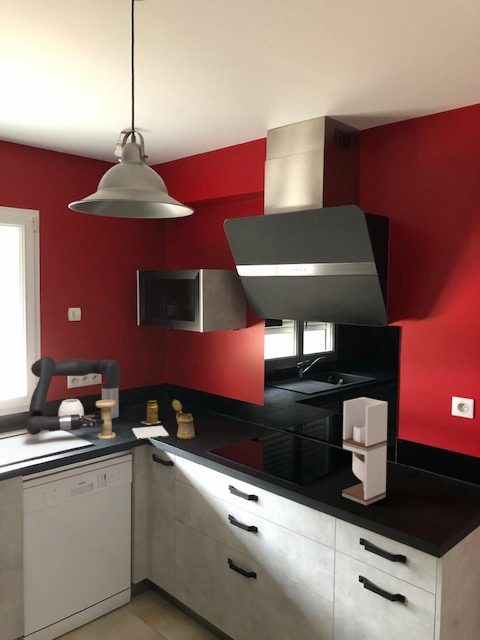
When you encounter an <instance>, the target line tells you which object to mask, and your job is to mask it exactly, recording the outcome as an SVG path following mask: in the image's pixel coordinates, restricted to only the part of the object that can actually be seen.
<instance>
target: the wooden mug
mask: <svg viewBox="0 0 480 640" xmlns="http://www.w3.org/2000/svg"><path fill="white" fill-rule="evenodd" d="M171 406H172V408H173V410H174V411H176V415H175V417H176V421H177V424H178V427H177V428H178V429H177V433H176V434H177V435H176V437H177V438H178V439H183V440H188V439H194V438H195V437H196V433H195V428H194V422H193V421H194V417H193V415H192V414H191V413H183V411H182V410H183V405H182V403H181V402H180V401H179V400H178V399H176V398H174V399H173V400H172V402H171Z"/></svg>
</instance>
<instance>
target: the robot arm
mask: <svg viewBox="0 0 480 640" xmlns="http://www.w3.org/2000/svg"><path fill="white" fill-rule="evenodd" d="M30 369H31V370H30V372H31V373H32V374H33V376H35V377H37V378H38V382H37V384H36V386H35V389H34V390H33V394H32V395H31V397H30V404H29V410H28V412H29V413H28V414H29V416H28V419H27V420H26V422H25V427H26V431H27V433H28V434H30V435H32V436H35V435H38V434H39V433H40V432H41V431H42V430H43V431H45V430H47V431H48V432H60V431H64V432H65V431H75V430H76V431H77V430H80V429H81V426H82V428H90V427H91V428H92V427H94V428H95V427H96V426H98V425H101V424H104V419H102V420H101V414H100V415H94V414H86V415H85V414H84V416H81V418H80V415H79V414H73V415H63V416H59V415H57V416H44V413H45V409H46V404H47V398H48V397H47V396H48V393H49V389H50V386H51V383H52V379H53V377H56V376H58V377H59V376H60V377H84V376H88V375H91V374H94V375H101V376H102V375H103V376H106V377H105V381H103V382H102V383H101V400H108V399H109V400H116V406H114V407H111V419H116V418H119V412H120V411H119V408H120V407H119V383H120V375H121V374H120V373H121V368H120V364H119V362H118V361H117V360H112V359H100V360H89V359H80V358H79V359H78V358H76V359H75V358H73V359H65V360H61V361H55V360H54V358H52V357H51V356H43V357H41V358H39V359H37V360H36V361H35V362H34V363H32V365H31V367H30Z"/></svg>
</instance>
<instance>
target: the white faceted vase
mask: <svg viewBox="0 0 480 640" xmlns="http://www.w3.org/2000/svg"><path fill="white" fill-rule="evenodd" d="M73 414H79V415H80V418H81V416H84V415H85V411H84V406H83V404H82V403H81V401H80V400H79V399H77V398H70V399H69V398H68V399H65V400H62V402H61V404H60V406H59V408H58V416H63V415H73Z"/></svg>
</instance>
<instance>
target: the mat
mask: <svg viewBox="0 0 480 640" xmlns="http://www.w3.org/2000/svg"><path fill="white" fill-rule="evenodd" d="M131 429H132V432H133V434H134V435H135V437H137V438H136V439H137V440H140V439H139V438H141V439H149V438H151V437H152V438H159V437H158V436H162V437H168V436H170V434H169V433H168V432H167V430H166V429H165V428H164V427H163V425H156V426H144V427H143V426H142V427H134V428H131Z"/></svg>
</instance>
